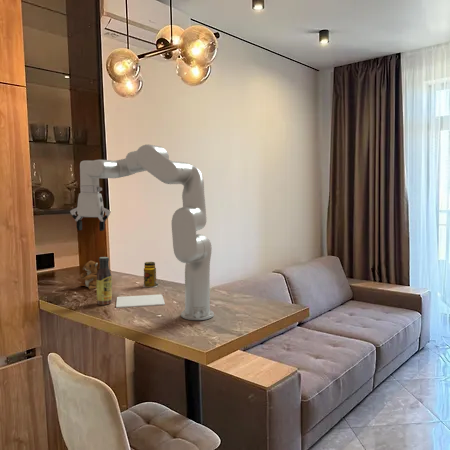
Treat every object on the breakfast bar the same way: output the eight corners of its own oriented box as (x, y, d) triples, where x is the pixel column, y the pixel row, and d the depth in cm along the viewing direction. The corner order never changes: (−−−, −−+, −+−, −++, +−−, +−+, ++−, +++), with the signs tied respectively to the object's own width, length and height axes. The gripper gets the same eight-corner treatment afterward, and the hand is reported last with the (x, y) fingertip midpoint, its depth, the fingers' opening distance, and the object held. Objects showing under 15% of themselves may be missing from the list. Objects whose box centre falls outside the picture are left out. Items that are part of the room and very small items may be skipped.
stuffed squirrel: (77, 286, 212) (77, 260, 210) (104, 282, 221) (103, 257, 220) (86, 290, 204) (85, 263, 203) (113, 285, 213) (112, 260, 212)
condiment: (142, 287, 209) (141, 263, 208) (144, 283, 218) (144, 260, 217) (157, 287, 210) (156, 263, 209) (159, 283, 218) (158, 260, 217)
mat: (164, 304, 179) (164, 303, 179) (116, 307, 174) (116, 306, 174) (162, 295, 194) (161, 294, 194) (117, 297, 190) (117, 296, 190)
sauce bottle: (106, 306, 177) (104, 259, 175) (93, 304, 179) (92, 258, 177) (115, 302, 183) (114, 256, 181) (103, 300, 185) (101, 256, 183)
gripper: (113, 190, 181) (113, 230, 183) (74, 189, 183) (75, 229, 184) (106, 190, 174) (107, 231, 175) (66, 190, 175) (67, 231, 177)
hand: (90, 230), depth 180 cm, fingers open, 9 cm apart
